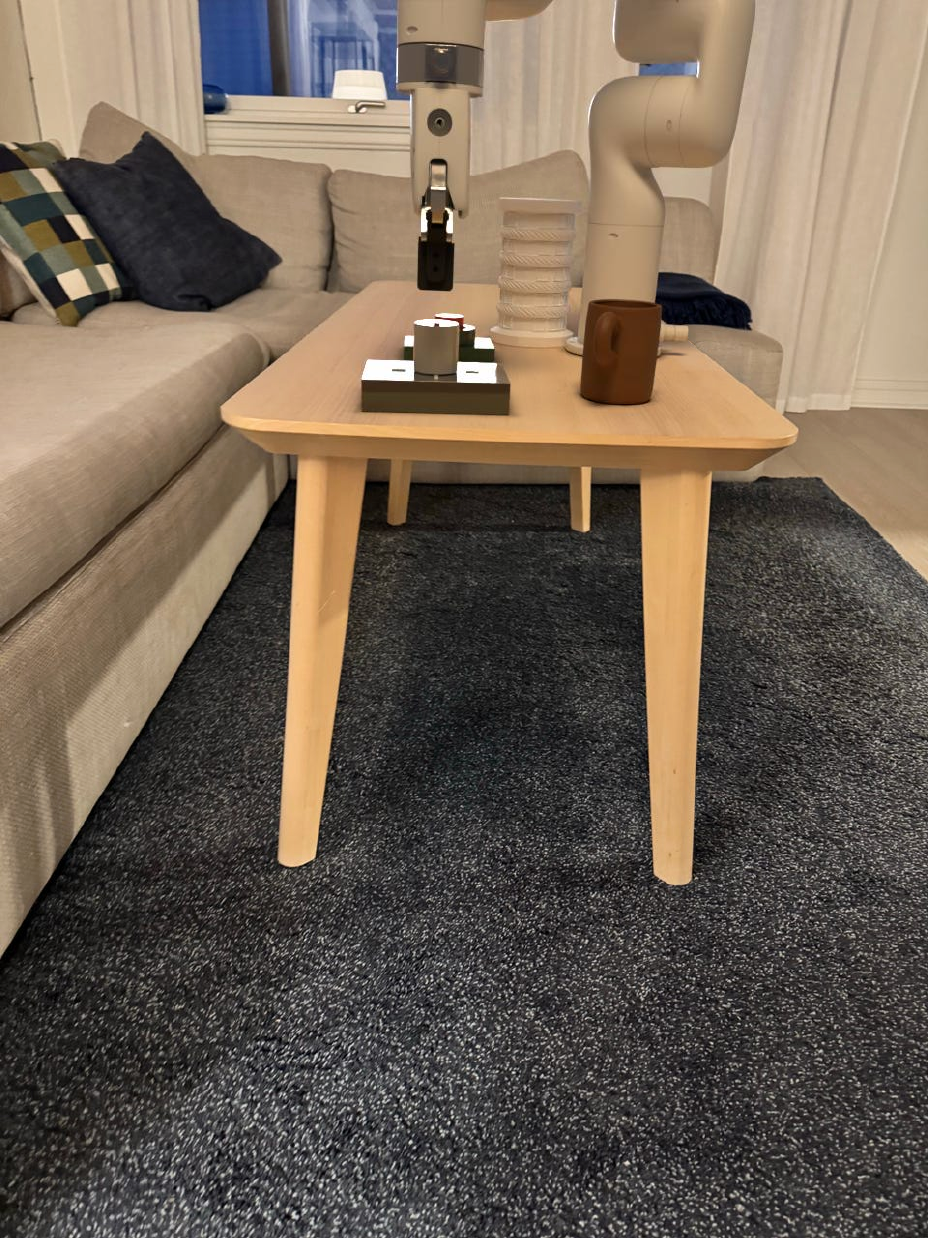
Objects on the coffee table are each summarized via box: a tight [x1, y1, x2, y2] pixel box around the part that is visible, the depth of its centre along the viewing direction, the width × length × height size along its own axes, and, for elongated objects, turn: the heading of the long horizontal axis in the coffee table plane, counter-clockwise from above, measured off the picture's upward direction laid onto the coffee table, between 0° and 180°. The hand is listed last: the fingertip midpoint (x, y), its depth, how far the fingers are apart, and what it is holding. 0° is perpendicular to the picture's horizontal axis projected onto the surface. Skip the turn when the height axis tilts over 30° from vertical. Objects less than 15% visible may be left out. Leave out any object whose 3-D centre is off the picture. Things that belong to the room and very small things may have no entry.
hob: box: [360, 359, 512, 416], centre depth 90 cm, size 14×10×3 cm
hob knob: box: [412, 319, 459, 375], centre depth 88 cm, size 4×4×5 cm
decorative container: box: [489, 197, 583, 348], centre depth 123 cm, size 12×12×18 cm
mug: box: [579, 299, 663, 405], centre depth 91 cm, size 12×8×9 cm, turn 156°
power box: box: [403, 324, 496, 363], centre depth 113 cm, size 11×8×4 cm
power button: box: [434, 313, 465, 329], centre depth 112 cm, size 4×4×2 cm
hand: (434, 285), depth 85 cm, fingers open, 9 cm apart
